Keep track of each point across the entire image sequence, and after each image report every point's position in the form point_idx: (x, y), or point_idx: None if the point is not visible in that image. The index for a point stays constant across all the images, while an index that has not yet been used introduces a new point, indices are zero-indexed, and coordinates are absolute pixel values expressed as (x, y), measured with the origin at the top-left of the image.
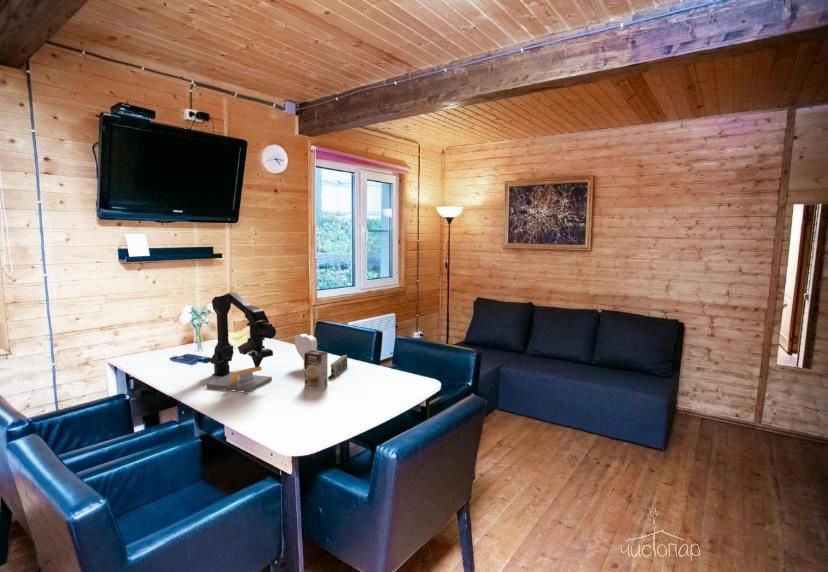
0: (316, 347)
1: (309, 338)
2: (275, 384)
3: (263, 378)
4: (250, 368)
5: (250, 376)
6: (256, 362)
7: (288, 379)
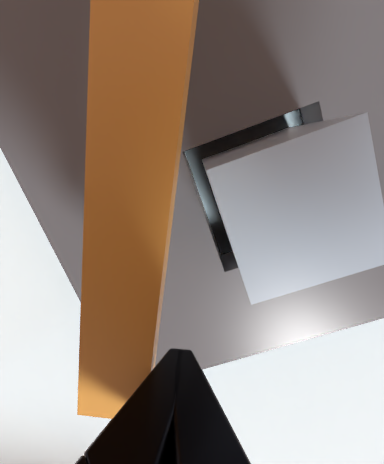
0: None
1: None
2: (25, 322)
3: None
4: (138, 222)
5: (224, 226)
6: (83, 460)
7: (69, 445)
